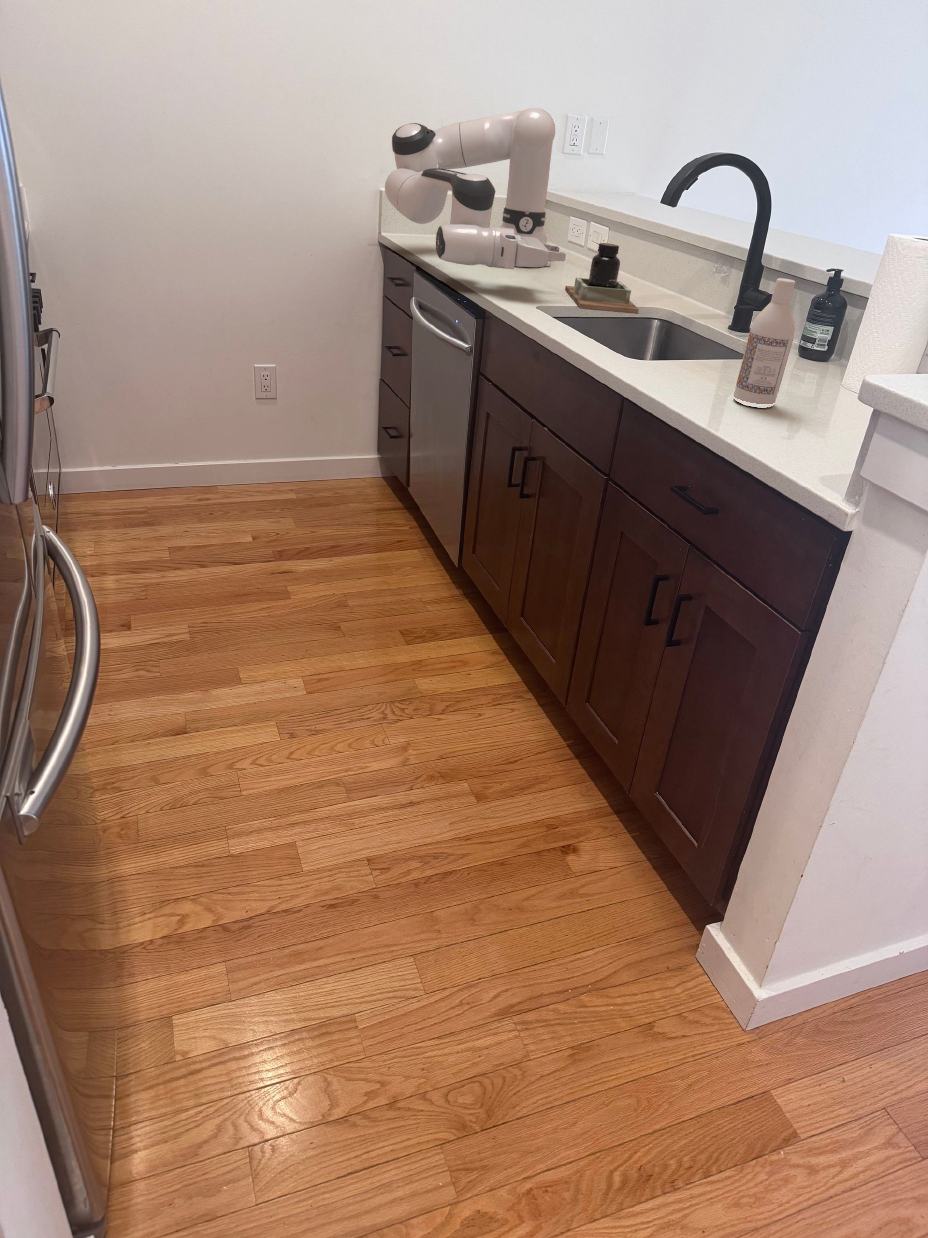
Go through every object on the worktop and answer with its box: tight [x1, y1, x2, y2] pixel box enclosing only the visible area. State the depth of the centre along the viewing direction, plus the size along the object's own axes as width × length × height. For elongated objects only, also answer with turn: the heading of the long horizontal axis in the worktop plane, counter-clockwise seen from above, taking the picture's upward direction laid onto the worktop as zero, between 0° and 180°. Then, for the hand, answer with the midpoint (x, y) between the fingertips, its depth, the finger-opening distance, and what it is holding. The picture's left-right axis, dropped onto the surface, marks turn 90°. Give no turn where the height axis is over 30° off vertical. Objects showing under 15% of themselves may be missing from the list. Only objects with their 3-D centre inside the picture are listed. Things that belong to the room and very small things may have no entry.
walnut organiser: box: [564, 277, 640, 314], centre depth 215 cm, size 22×14×4 cm, turn 4°
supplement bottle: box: [588, 242, 621, 289], centre depth 212 cm, size 7×7×12 cm
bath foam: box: [733, 277, 796, 404], centre depth 144 cm, size 7×7×20 cm
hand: (561, 253), depth 209 cm, fingers open, 8 cm apart
